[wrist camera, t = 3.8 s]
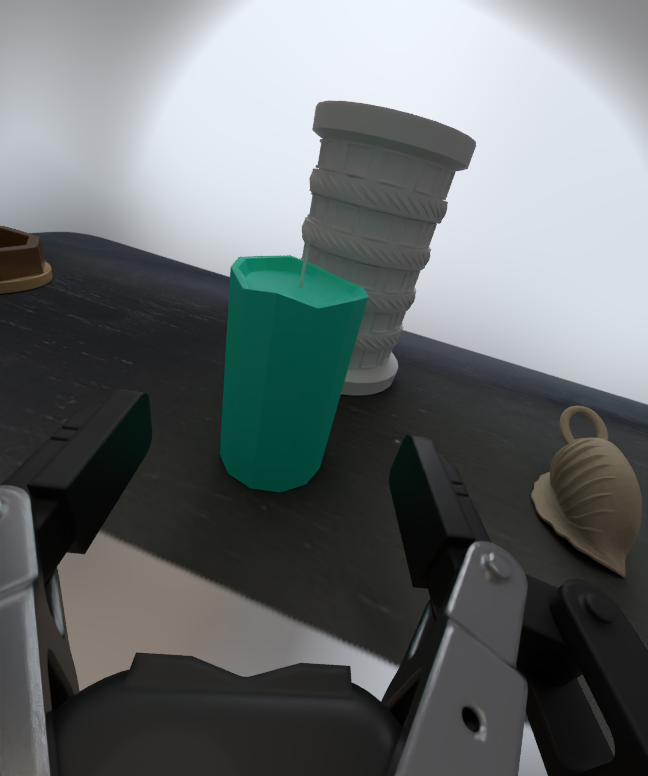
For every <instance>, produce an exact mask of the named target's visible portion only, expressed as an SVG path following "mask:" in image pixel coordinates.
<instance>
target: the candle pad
mask: <svg viewBox="0 0 648 776" xmlns="http://www.w3.org/2000/svg"><path fill="white" fill-rule="evenodd" d="M52 278H53V275H52V270H51V266H50V265H49V264H48V263H47V262H46V261H45V258H44V254H43V249H42V245H41V240H40V237H39V236H36V235H33V234H29V233H26V232H22V231H19V230H16V229H12V228H9V227H5V226H0V294H2V293H12V292H19V291H25V290H30V289H34V288H38V287H41V286H43V285H45V284H47V283H49V282H50V281H51V280H52Z"/></svg>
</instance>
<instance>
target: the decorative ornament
mask: <svg viewBox="0 0 648 776" xmlns="http://www.w3.org/2000/svg"><path fill="white" fill-rule="evenodd" d="M575 413H581V414H584V415H585V416H587V417H588V418H589V419H590V420H591V421H592V423H593V424H594V427H595V429H596V434H597V438H580V439H576V440H575V439H574V438H573V436H572V434H571V432H570V429H569V419H570V417H571V416H572V415H573V414H575ZM559 429H560V433H561V437H562V439H563V441H564V443H565V444H566V446H564V447H563V448H562V449H560V450H559V451H558V452H557V454H556V455H555V457H554V459H553V461H552V462H551V467H550V472H547V473H546V474H543V475H540V478H539V480H538V481H536V482H535V483H534V490H533V491H532V495H531V499H532V501H533V503H534V505H535V508H536V511H537V513H538V515H539V516H540V518H541V519H542V520H544V521H545V522H546V523H548V524H549V525H551V526H552V527H553V529H554V530H555V532H556V533H557V534H558V535H560V536H562V537H564V538H566V539H567V540H568V541H569V542H570V543H571V545H572V546H573V547H574V548H576V549H577V550H579V551H581V552H582V553H584V554H586V555H588V556H589V557H591V558H592V559H594V560H595V561H597V562H599V563H600V564H602V565H604V566H605V567H607V568H609V569H611V570H612V571H614V572H616V573H617V574H619V575H621V576H622V577H624V578H625V577H626V573H625V558H626V556H627V554H628V552H629V551H630V549H631V548H632V546H633V544H634V542H635V541H636V539H637V536H638V533H639V529H640V523H641V518H642V497H641V492H640V487H639V484H638V481H637V478H636V476H635V473H634V471H633V470H632V468H631V466H630V464H629V462H628V461H627V459H626V458H625V456H624V455H623V454H622V452H621V451H620V450H619V449H618V448H617V447H616V446H615V445H614V444H613V443H611V442H609V441H608V432H607V429H606V426H605V424H604V422H603V420H602V419H601V418H600V417H599V416H598V415H597V414H596V413H595V412H594V411H592V410H591V409H589V408H587V407H584V406H572V407H569V408H568V409H566V410H565V411H564V412H563V413H562V415H561V417H560V423H559Z"/></svg>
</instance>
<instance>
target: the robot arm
mask: <svg viewBox="0 0 648 776" xmlns="http://www.w3.org/2000/svg"><path fill="white" fill-rule="evenodd" d="M151 440H152V425H151V413H150V401H149V396H148V394H147V393H142V392H136V391H130V390H123V389H117V390H116V391H114V392H113V393H112V395H111V396H110V397H109V398H108V399H107V400H106V401H105V402H104V403H103V404H98V403H93V404H91V405H90V406H88V407H86V408H84V409H82V410H80V411H78V412H76V413H75V414H74V415H73V416H72V417H71V418H69V419H68V420H67V421H66V422H65V423H64V424H63V425H62V428H61V429H60V428H59V429H58V430H57V431H56V432H55V433H54V434H53V435H52V436H51V439H50V440H47V441H46V442H45V443H44V444H43V445H42V446H41V447H40V448H39V449H38V450H37V451H36V452H35V453H34V454H33V455H32V456H31V457H29V458H28V459H27V460H26V461H25V462H24V463H23V464H22V465H21V466H20V467H19V468H18V469H17V470H16V471H15V472H14V473H13V474H12V475H11V476H10V477H9V478H8V479H7V480H6V481H5V482H4V483H3V484H2V485H0V776H518V770H519V761H520V754H521V745H522V736H523V728H524V720H525V711H526V714H527V717H528V720H529V723H530V726H531V728H532V731H533V734H534V737H535V740H536V743H537V745H538V748H539V751H540V754H541V757H542V760H543V763H544V766H545V768H546V771H547V774H548V776H648V650H647V649H646V647H645V646H644V644H643V643H642V641H641V639H640V638H639V636H638V635H637V633H636V632H635V630H634V629H633V627H632V626H631V624H630V623H629V621H628V620H627V618H626V617H625V615H624V614H623V612H622V611H621V610H620V608H619V607H618V606H617V605H616V604H615V603H614V602H613V601H612V600H611V599H610V598H609V597H608V596H607V595H606V594H605V593H603V592H602V591H601V590H599V589H598V588H596V587H595V586H593V585H591V584H589V583H587V582H585V581H582V580H578V579H570V580H568V581H566V582H565V583H564V584H563V585H562V586H561V587H559V588H557V587H554V586H552V585H549V584H547V583H545V582H542V581H540V580H538V579H535V578H533V577H531V576H528V575H526V574H524V572H523V570H522V568H521V566H520V565H519V564H518V562H517V561H516V560H515V559H514V558H513V557H512V556H511V555H510V554H509V553H508V552H507V551H505V550H504V549H503V548H501V547H499V546H498V545H495V544H493V543H492V542H491V540H490V538H489V536H488V534H487V532H486V530H485V528H484V526H483V524H482V521H481V519H480V517H479V515H478V513H477V511H476V509H475V507H474V505H473V503H472V500H471V498H469V497H468V495H469V494H468V492H467V490H466V488H465V486H463V482H462V480H461V477H460V475H459V473H458V471H457V469H456V468H455V467H454V466H453V465H452V464H451V463H450V461H449V460H448V459H447V458H446V457H445V456H440V455H439V453H438V451H437V449H436V446H435V444H434V442H433V440H432V439H431V438H426V437H419V436H413V435H407V436H406V437H405V438H404V440H403V442H402V444H401V447H400V449H399V451H398V453H397V456H396V458H395V460H394V462H393V465H392V467H391V470H390V475H389V486H390V491H391V495H392V499H393V503H394V508H395V512H396V516H397V520H398V525H399V529H400V533H401V538H402V542H403V546H404V550H405V555H406V559H407V563H408V567H409V572H410V576H411V580H412V585H413V587H417V588H428V591H429V594H430V600H429V601H428V603H427V604H426V607H425V609H424V611H423V614H422V616H421V618H420V621H419V623H418V625H417V628H416V630H415V633H414V635H413V637H412V640H411V642H410V644H409V647H408V649H407V651H406V654H405V656H404V658H403V661H402V663H401V665H400V667H399V669H398V671H397V673H396V675H395V676H394V678H393V680H392V681H391V683H390V685H389V687H388V689H387V691H386V693H385V695H384V697H383V699H382V701H381V702H380V701H379V700H378V699H377V698H376V697H374V696H373V695H372V694H370V693H369V692H368V691H366V690H365V689H363V688H361V687H360V686H358V685H356V684H354V683H352V682H351V671H350V666H341V665H326V664H309V663H299V664H295V665H291V666H288V667H284V668H280V669H276V670H273V671H269V672H265V673H262V674H258V675H254V676H250V677H242V676H239V675H236V674H234V673H231V672H229V671H226V670H224V669H222V668H219V667H217V666H214V665H212V664H210V663H207V662H205V661H202V660H200V659H197V658H195V657H193V656H182V655H165V654H149V653H136V654H135V657H134V660H133V662H132V665H131V667H130V670H126V671H122V672H119V673H117V674H114V675H111V676H109V677H106V678H104V679H102V680H100V681H98V682H96V683H94V684H92V685H90V686H88V687H87V688H85V689H83V690H82V691H79V685H78V680H77V675H76V671H75V666H74V662H73V659H72V655H71V652H70V647H69V641H68V635H67V628H66V622H65V615H64V608H63V602H62V595H61V588H60V581H59V575H58V570H57V566H58V564H59V563H60V561H61V560H62V558H63V557H64V555H65V554H66V552H68V553H79V554H85V553H86V551H87V550H88V548H89V546H90V544H91V543H92V541H93V540H94V538H95V537H96V535H97V533H98V532H99V530H100V528H101V527H102V525H103V524H104V522H105V520H106V519H107V517H108V516H109V514H110V512H111V511H112V509H113V507H114V506H115V504H116V503H117V501H118V499H119V498H120V496H121V494H122V493H123V491H124V490H125V488H126V486H127V485H128V483H129V481H130V480H131V478H132V477H133V475H134V473H135V472H136V470H137V468H138V467H139V465H140V464H141V462H142V460H143V459H144V457H145V455H146V454H147V452H148V450H149V447H150V444H151ZM581 675H583V676H584V678H585V680H586V682H587V684H588V686H589V688H590V690H591V692H592V694H593V696H594V698H595V700H596V702H597V704H598V706H599V708H600V710H601V712H602V714H603V716H604V718H605V720H606V722H607V724H608V726H609V729H610V731H611V733H612V736H613V739H614V744H615V756H613V754H612V751H611V749H610V747H609V745H608V743H607V741H606V739H605V737H604V735H603V733H602V730H601V728H600V726H599V724H598V722H597V720H596V718H595V716H594V714H593V712H592V709H591V707H590V705H589V703H588V701H587V699H586V697H585V695H584V693H583V691H582V688H581V686H580V684H579V682H578V680H577V678H578V677H579V676H581Z"/></svg>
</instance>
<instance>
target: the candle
mask: <svg viewBox="0 0 648 776" xmlns="http://www.w3.org/2000/svg"><path fill="white" fill-rule="evenodd" d="M310 240H311V239H309V238H307V243H306V249H305V255H304V261H303V260H300V259H298V258H295V257H293V256H254V257H239V258H238V259H237V260H236V261H235V263H234V264H233V265H232V266H231V273H230V290H229V307H228V324H227V341H226V357H225V374H224V391H223V408H222V425H221V442H220V456H221V458H222V460H223V463H224V465H225V468H226V470H227V472H228V474H229V475H231V476H232V477H234V478H235V479H237V480H238V481H240V482H241V483H243V484H244V485H246V486H248V487H249V488H251V489H258V490H265V491H273V492H283V491H287V490H290V489H293V488H296V487H299V486H303V485H306V484H307V483H308V481H309V480H310V479H311V478H312V477H313V476H314V475H315V473H316V472H317V471H318V470H319V469H320V466H321V462H322V459H323V455H324V452H325V448H326V445H327V441H328V438H329V434H330V431H331V427H332V424H333V420H334V417H335V413H336V410H337V406H338V403H339V399H340V396H341V392H342V389H343V385H344V382H345V378H346V375H347V371H348V367H349V364H350V360H351V357H352V353H353V350H354V346H355V343H356V339H357V336H358V332H359V329H360V325H361V322H362V318H363V315H364V311H365V308H366V304H367V301H368V295H367V293H366V291H365V289H364V288H363V287H361V286H359V285H356V284H354V283H352V282H349V281H347V280H345V279H343V278H341V277H339V276H336V275H334V274H332V273H330V272H328V271H326V270H324V269H322V268H320V267H318V266H315V265H313V264H310V263H308V262H307V258H308V252H309V246H310Z"/></svg>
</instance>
